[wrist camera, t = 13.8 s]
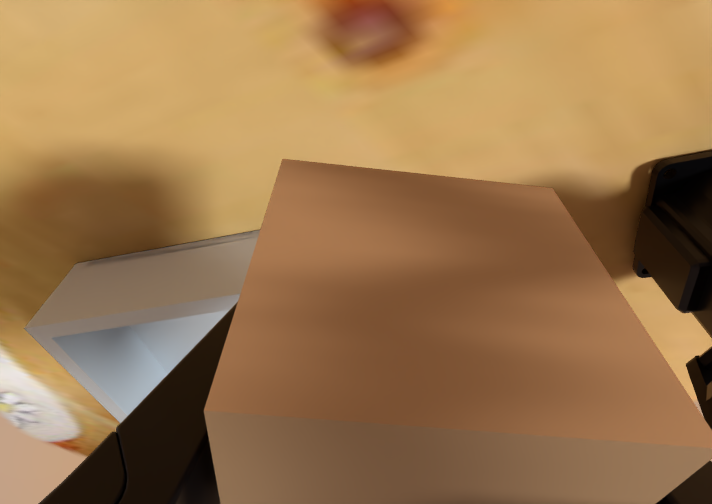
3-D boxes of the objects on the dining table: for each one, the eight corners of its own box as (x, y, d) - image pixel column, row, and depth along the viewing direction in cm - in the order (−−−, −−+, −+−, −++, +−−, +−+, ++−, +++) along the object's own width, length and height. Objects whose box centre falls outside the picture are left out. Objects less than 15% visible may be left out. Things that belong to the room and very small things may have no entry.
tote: (346, 213, 21) (343, 277, 17) (411, 437, 33) (416, 500, 30) (75, 263, 23) (23, 328, 20) (230, 455, 36) (215, 516, 32)
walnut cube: (552, 187, 8) (724, 449, 4) (476, 357, 11) (536, 598, 7) (282, 158, 8) (203, 410, 4) (280, 341, 11) (235, 583, 7)
